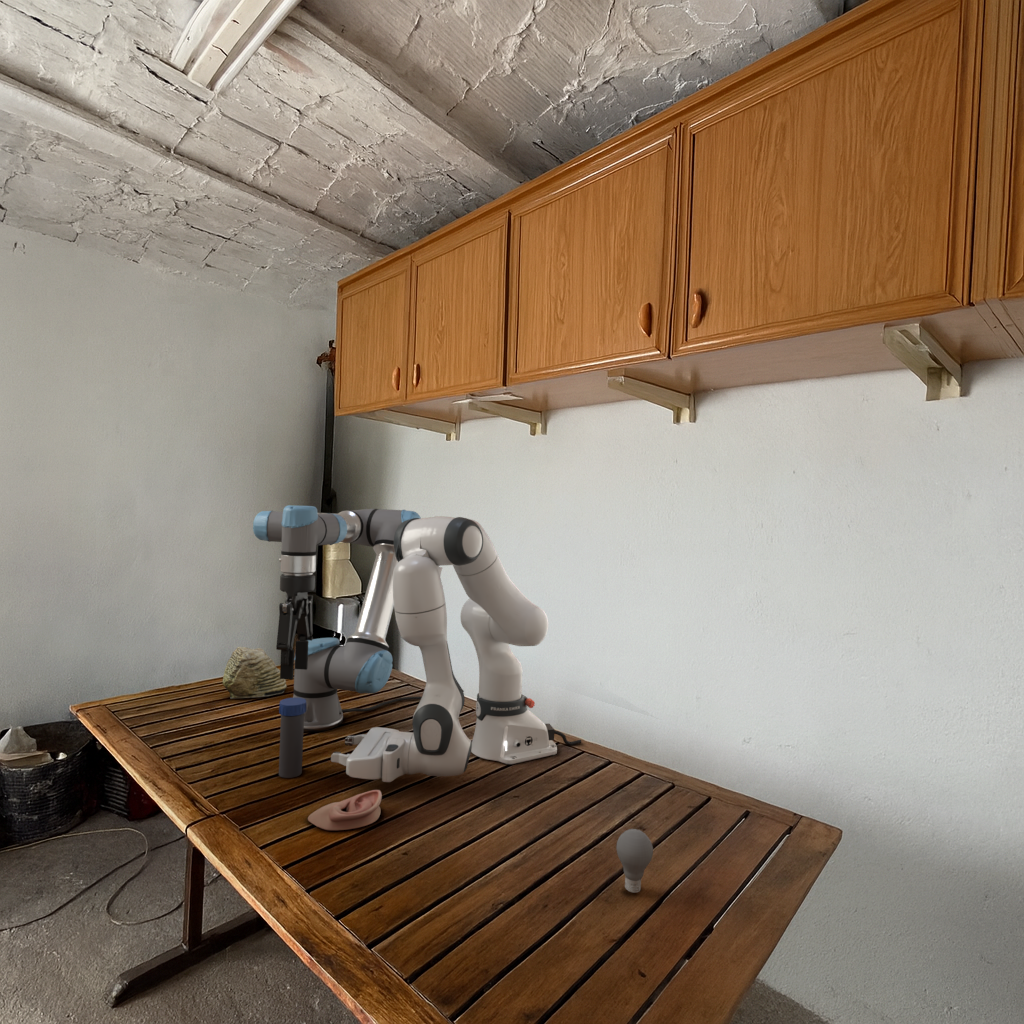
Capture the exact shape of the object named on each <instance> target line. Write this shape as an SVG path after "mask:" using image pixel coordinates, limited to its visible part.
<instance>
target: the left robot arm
mask: <svg viewBox="0 0 1024 1024" xmlns="http://www.w3.org/2000/svg"><path fill="white" fill-rule="evenodd" d="M413 518H420V519H421V518H422V517H421V515H420V514H419V513H418V512H416V511H414V510H406V509H387V508H386V509H383V508H363V509H354V510H341V511H340V512H338V513H334V512H333V513H331V512H318V508H317V507H316V506H313V505H292V504H290V505H289V504H288V505H285V506H284V507H283V510H282V511H279V510H277V511H276V510H262V511H260V512H258V513H257V514H256V515H255V517H254V519H253V522H252V524H253V526H252V532H253V534H254V536H255V538H257V539H258V540H259V541H263V542H269V543H270V542H271V543H272V542H273V543H281V551H280V557H279V559H278V561H279V562H280V572H281V573H282V574H280V576H279V590H280V591H281V592H283V593H286V598H285V600H284V602H280V603H279V605H278V609H279V612H278V613H279V616H278V627H277V634H276V635H277V636H276V646H275V649H276V650H277V651H280V664H279V665H280V666H279V667H280V669H279V670H280V679H285V680H293V695H292V696H293V697H292V698H303V699H305V700H306V703H307V704H306V712H305V713H304V729H303V733H316V732H325V731H329V730H332V729H335V728H337V727H339V726H340V725H342V723H343V722H344V714H343V713H352V712H353V713H354V712H355V713H356V712H359V713H360V712H369V711H373V710H376V709H378V708H380V707H382V706H386V705H389V704H392V703H396V702H400V701H411V700H413V701H414V700H421V698H422V696H404V697H398V698H393V699H389V700H387V701H383V702H380V703H378V704H375V705H373V706H369V707H366V708H365V707H364V708H342V706H341V702H340V699H339V695H338V690H339V691H340V690H341V691H347V692H354V693H357V694H358V693H359V694H376V693H378V692H380V691H381V690H382V689H383V688H384V687H385V685H386V684H387V683H388V681H389V679H390V676H391V675H392V670H393V665H394V664H393V655H392V653H391V652H390V651H389V649H390V646H389V644H388V643H387V641H386V638H387V634H388V630H389V626H390V622H391V619H392V614H393V610H394V601H393V572H394V568H395V566H396V564H397V563H398V561H397V559H396V556H395V551H394V535H395V532H396V530H397V528H398V526H399V525H400V524H401V523H402V522H404V521H406V520H409V519H413ZM339 543H343V544H355V545H361V546H366V547H372V549H373V551H374V553H375V554H376V555H375V559H374V562H373V566H372V569H371V572H370V576H369V580H368V584H367V587H366V591H365V594H364V598H363V601H362V605H361V609H360V613H359V615H358V619H357V623H356V627H355V630H354V632H353V634H351V635H349V636H348V637H347V638H346V641H345V645H340V644H341V643H340V642H341V641H340V639H339V638H337V637H320V638H319V637H318V638H314V636H313V634H314V632H313V631H314V629H313V599H314V595H312V594H308V593H311V592H313V591H315V587H316V576H315V574H314V573H316V571H317V570H316V568H317V546H333V545H336V544H339ZM296 635H297V640H295V638H296ZM294 643H295V649H293V648H294ZM464 692H465V690H463V693H464Z"/></svg>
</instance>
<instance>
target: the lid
mask: <svg viewBox="0 0 1024 1024" xmlns="http://www.w3.org/2000/svg"><path fill="white" fill-rule="evenodd" d="M306 704H307V703H306V700H305V699H303V698H293V697H287V698H284V699H281V700H280V701H279V705H278V713H279V715H280V716H281V715H284V716H297V715H301V714H304V713H305V712H306Z"/></svg>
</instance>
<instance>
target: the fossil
mask: <svg viewBox="0 0 1024 1024" xmlns="http://www.w3.org/2000/svg"><path fill="white" fill-rule="evenodd" d="M222 676H223V677H222V685H223V687H224V688H225V690H226V691H228V693H229V698H230V699H250V698H264V697H271V696H275V695H281V694H284V693H285V691H286V689H287V687H288V686H287V679H280V669H279V668H278V667H277V665H276V663H275V662H274V660H273V659H272V658H271V657H270V656H269V655H268V654H267V653H266V652H265V650H264V649H263V648H260V647H258V648H251V647H247V646H246V647H245V646H238V647H237V648H236V649H235V650H233V651H232V653H231V656H230V657H229V659H228V660H227V663H226V666H225V668H224V671H223V675H222Z"/></svg>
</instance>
